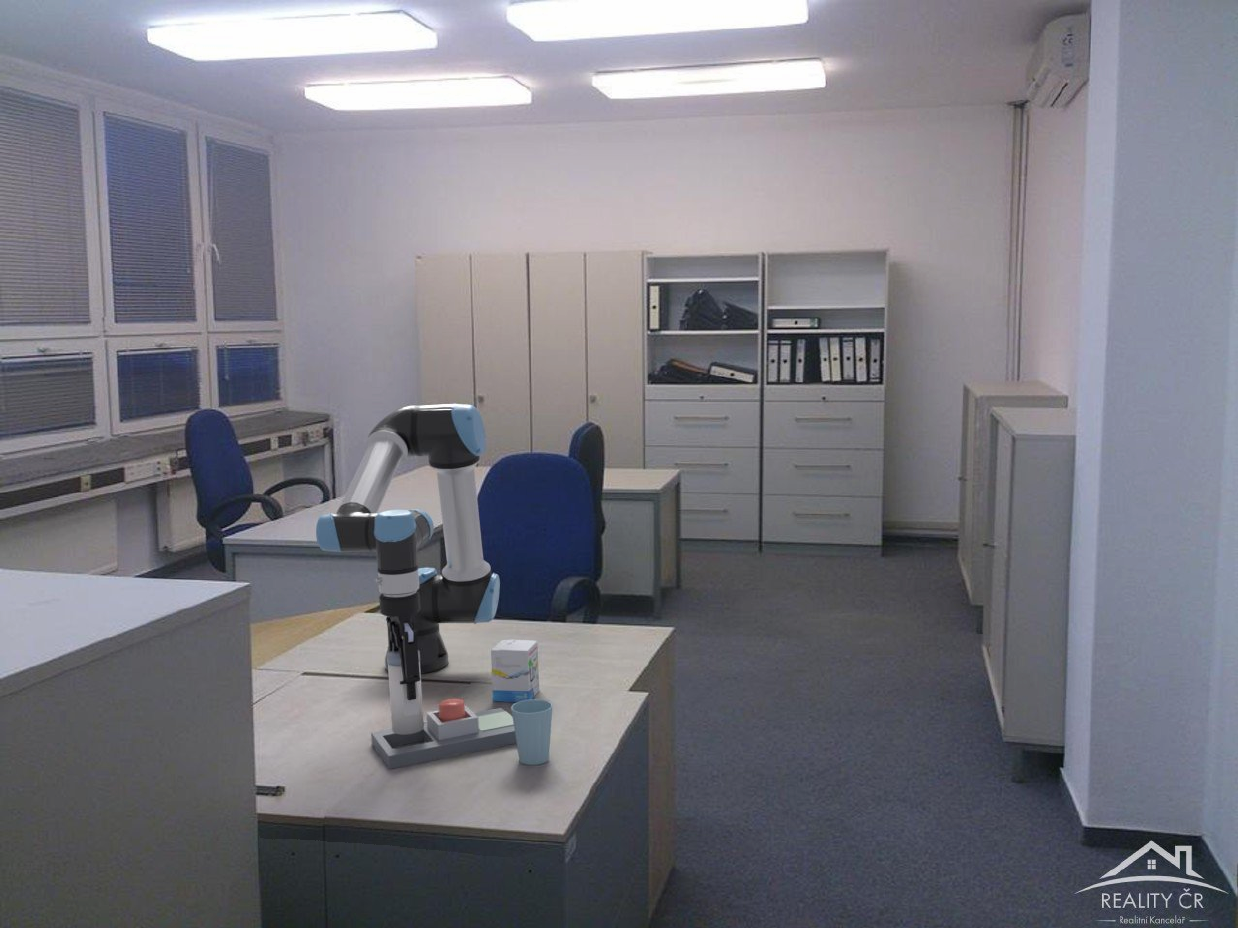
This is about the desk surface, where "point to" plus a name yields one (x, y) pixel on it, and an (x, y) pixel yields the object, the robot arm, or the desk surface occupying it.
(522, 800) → the desk surface
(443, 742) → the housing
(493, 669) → the ink box
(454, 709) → the plunger
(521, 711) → the cup
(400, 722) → the cartridge
